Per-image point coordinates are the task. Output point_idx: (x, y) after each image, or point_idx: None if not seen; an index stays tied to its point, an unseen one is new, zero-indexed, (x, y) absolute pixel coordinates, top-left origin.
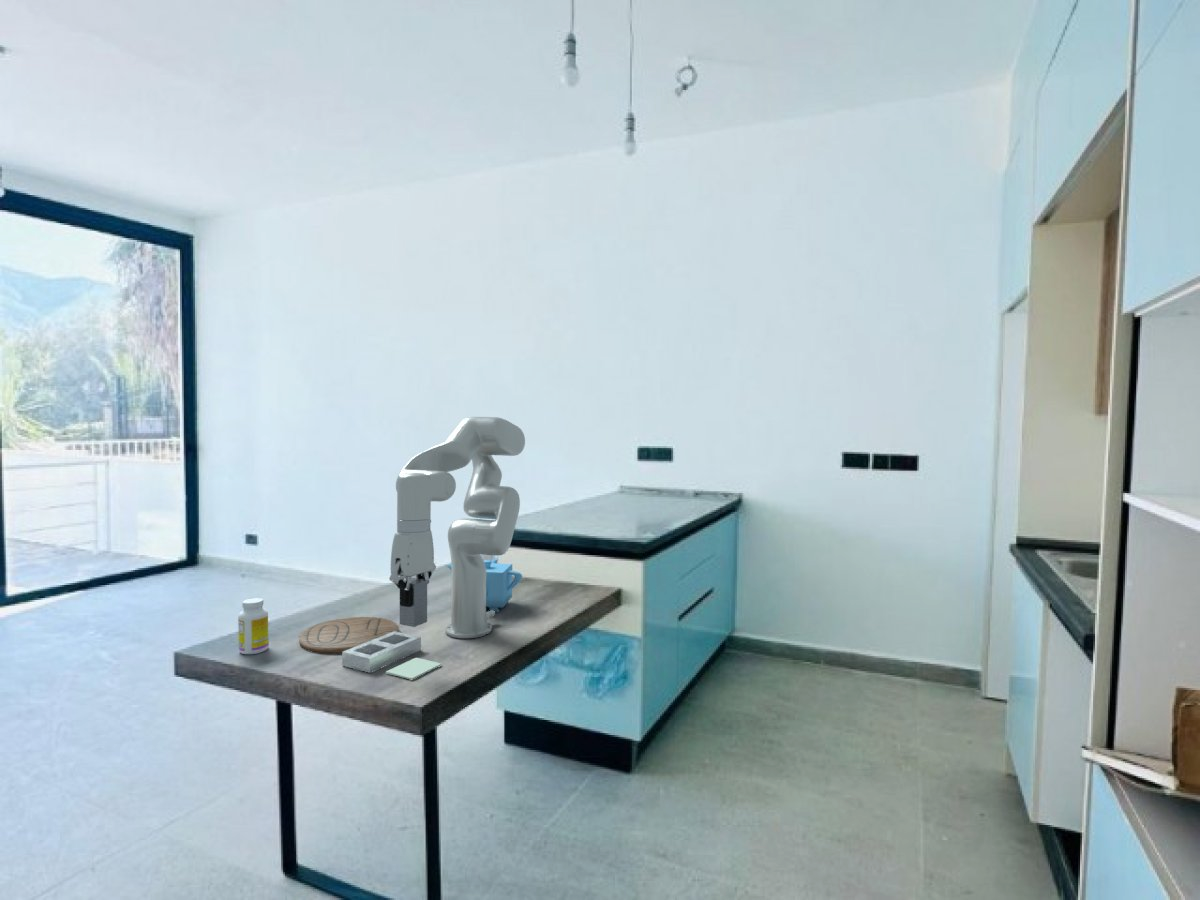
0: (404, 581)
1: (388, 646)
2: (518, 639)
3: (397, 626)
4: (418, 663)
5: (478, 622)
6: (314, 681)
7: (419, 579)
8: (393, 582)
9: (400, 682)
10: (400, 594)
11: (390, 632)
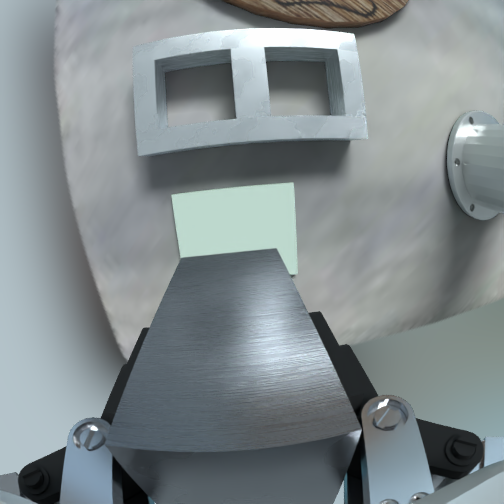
0: (156, 469)
1: (246, 112)
2: (474, 287)
3: (404, 3)
4: (264, 223)
5: (494, 209)
6: (59, 102)
7: (325, 486)
8: (11, 474)
9: (164, 266)
10: (109, 403)
11: (368, 8)
